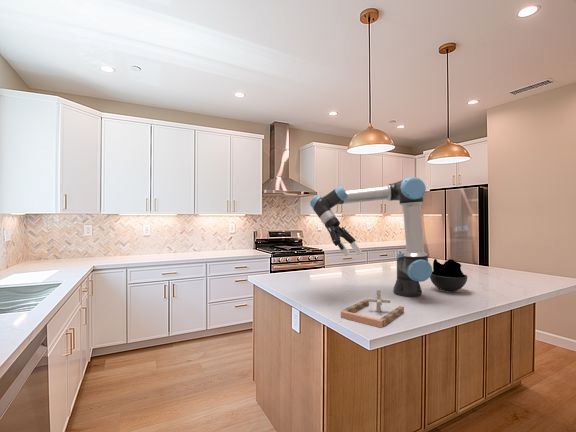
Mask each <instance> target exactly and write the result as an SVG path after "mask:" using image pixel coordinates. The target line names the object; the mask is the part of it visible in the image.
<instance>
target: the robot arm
mask: <svg viewBox="0 0 576 432" xmlns="http://www.w3.org/2000/svg"><path fill="white" fill-rule="evenodd" d="M426 188H427V187H426V184H425V182H424V181H423V180H422V179H421V178H419V177H416V176H410V177H406V178H404V179H401V180H399V181H396V182H393V183H387V184H386V185H384V186H375V187H367V188H357V189H347V190H345V189H344V187H342V186H340V185H339V186H337V187H336V188H334V189H333V190H332V191H330V192H329V193H327V194H326V195H324V196H321V195H316V196H314V197H313V198H312V199H311V200H310V201H309V202H310V203H309V205H310V206H311V208H312V210H313V211H314V213H315V214H316V215H317V217H318V218H319V219H320V223H322V224H323V225H324V227H325V228H326V230H327V232H328V233H329V235H330V239H331V241H332V243H333V244H334V246H335V247H337V246H338V248H339V250H340V251H341V252H342V254H343V255H344V257H347V256H348V255H349V254H350V253H351V252H350V250H349V249H348V248H347V247H346V245H345V243H343V242H342V240H341V238H343V239H344V240H345V241H346V242H348V243H349V244H350V246H351V248H352V249H353V251H354V252H355V253H356V255H358V256H359V255H360V254H361V253H363V252H362V250H361V249H360V247H359V246H358V244H357V242H356V241H357V240H356V239H355V238H354V237H353V236H352V235H351V234H350V233H349V232H348V231H347V230H346V229H345V227H343V226H342V227H341V226H340V225H341V221H340V220H339V219H338V217H337V216H336V214H335V213H334V212H333V211H332V208H334V207H335V206H336V205H344V204H355V203H365V202H372V201H383V200H386V201H388V202H390V201H399V205H400V206H401V207H402V209H403V211H402V212H403V224H404V236H405V238H404V239H405V247H406V251H405V253H404V252H403V253H401V252H400V253H397V255H396V280H395V284H394V286H393V293H394V294H396V295H398V296H401V297H402V296H403V297H409V298H411V297H412V298H414V297H415V298H417V297H421V296H422V295H423V289H422V287H421V284H420V283H421V282H425V281H427V280H429V279H430V276H431V274H432V271H433V265H432V264H431V263H430V262H429V257H428V253H426V252H425V245H424V234H423V232H424V231H423V220H422V210H421V209H422V208H421V205H423V204H424V195H425V194H426V190H427V189H426Z"/></svg>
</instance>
